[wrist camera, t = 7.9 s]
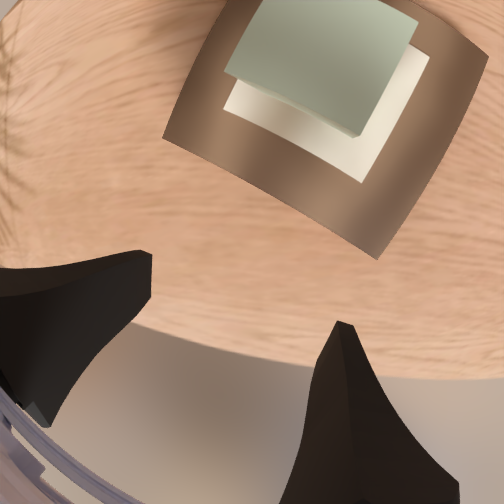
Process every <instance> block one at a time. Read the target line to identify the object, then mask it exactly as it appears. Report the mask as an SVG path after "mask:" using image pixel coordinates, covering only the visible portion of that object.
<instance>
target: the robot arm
mask: <svg viewBox="0 0 504 504" xmlns="http://www.w3.org/2000/svg"><path fill="white" fill-rule="evenodd" d="M151 275H152V254H150V253H147V252H145V251H142V250H133V251H127V252H123V253H118V254H113V255H109V256H105V257H100V258H96V259H92V260H87V261H82V262H77V263H72V264H67V265H60V266H53V267H44V268H23V269H12V268H0V504H74V503H72V502H71V501H70V500H68V499H67V498H66V497H64V496H63V495H62V494H61V493H59V492H58V491H57V490H56V489H54V488H53V487H52V486H51V485H50V484H48V483H47V482H46V481H45V480H44V479H43V478H42V477H40V475H41V474H42V473H43V472H44V471H45V467H44V466H43V465H42V464H41V463H40V462H39V461H38V460H37V459H36V458H35V457H34V456H33V455H32V454H31V453H30V452H29V451H28V450H27V449H26V448H25V447H24V446H23V445H22V444H21V443H20V442H19V441H18V440H17V439H16V438H15V437H14V436H13V434H12V433H11V428H12V427H11V424H12V425H13V427H14V428H15V429H16V430H17V431H18V432H19V433H20V434H21V435H22V436H23V437H24V438H25V439H26V440H27V441H28V442H29V443H30V444H31V445H32V446H33V447H34V448H35V449H36V450H37V451H38V452H39V453H40V454H41V455H42V456H43V457H44V458H46V459H47V460H48V461H49V462H50V463H51V464H52V465H53V466H55V467H56V468H57V469H58V470H59V471H60V472H62V473H63V474H64V475H65V476H67V477H68V478H69V479H70V480H72V481H73V482H74V483H76V484H77V485H78V486H80V487H81V488H82V489H84V490H85V491H86V492H88V493H89V494H91V495H92V496H94V497H95V498H97V499H98V500H100V501H101V502H102V503H104V504H144V503H142V502H140V501H139V500H137V499H135V498H133V497H131V496H130V495H128V494H126V493H125V492H123V491H121V490H120V489H118V488H116V487H115V486H113V485H111V484H110V483H108V482H107V481H105V480H104V479H102V478H101V477H99V476H98V475H96V474H95V473H93V472H92V471H91V470H89V469H88V468H86V467H85V466H83V465H82V464H81V463H80V462H78V461H77V460H76V459H74V458H73V457H72V456H71V455H69V454H68V453H67V452H66V451H64V450H63V449H62V448H61V447H60V446H58V445H57V444H56V443H55V442H54V441H53V440H52V439H50V438H49V437H48V436H47V435H46V434H45V433H44V432H43V431H42V430H41V429H40V428H38V427H37V426H36V425H35V424H34V423H33V422H32V421H31V420H30V419H29V418H28V417H27V416H26V415H25V414H24V413H23V412H22V411H21V409H20V408H18V406H17V405H16V403H17V404H18V405H19V406H20V407H21V408H22V409H23V410H25V411H26V412H27V413H28V414H29V415H30V416H31V417H32V418H33V419H34V420H35V421H36V422H37V423H38V424H39V425H40V426H41V427H44V428H49V427H51V425H52V423H53V421H54V419H55V417H56V415H57V413H58V411H59V409H60V407H61V405H62V403H63V402H64V400H65V399H66V397H67V395H68V394H69V392H70V390H71V388H72V387H73V386H74V384H75V383H76V381H77V380H78V378H79V377H80V376H81V374H82V373H83V371H84V370H85V369H86V367H87V366H88V365H89V364H90V362H91V361H92V360H93V359H94V357H95V356H96V355H97V353H99V352H100V351H101V349H102V348H103V347H104V346H105V345H107V344H108V343H109V342H110V341H111V340H112V339H113V338H114V337H115V336H116V335H117V334H118V333H119V332H120V331H121V330H122V329H123V328H124V327H125V326H126V325H127V324H128V323H129V322H130V321H131V320H133V319H134V318H135V317H136V316H137V314H138V313H139V312H140V311H141V310H142V308H143V307H144V306H145V304H146V303H147V302H148V300H149V299H150V298H151ZM279 504H460V493H459V483H458V481H457V480H455V479H454V478H453V477H452V476H451V475H450V474H449V473H448V472H447V471H445V470H444V469H443V468H442V467H441V466H440V465H439V464H438V463H437V462H436V461H435V460H434V459H433V458H432V457H431V456H430V455H429V454H428V453H427V451H426V450H425V449H424V448H423V447H422V446H421V445H420V443H419V442H418V441H417V440H416V439H415V437H414V436H413V435H412V434H411V432H410V431H409V430H408V428H407V427H406V426H405V424H404V423H403V421H402V420H401V419H400V417H399V416H398V414H397V413H396V411H395V409H394V408H393V406H392V405H391V403H390V402H389V400H388V398H387V396H386V395H385V393H384V391H383V389H382V387H381V385H380V383H379V381H378V380H377V378H376V376H375V373H374V371H373V369H372V367H371V365H370V363H369V361H368V359H367V356H366V354H365V352H364V349H363V347H362V345H361V342H360V340H359V338H358V335H357V333H356V331H355V328H354V326H353V325H350V324H347V323H344V322H341V321H337V322H336V324H335V326H334V328H333V330H332V332H331V334H330V336H329V338H328V340H327V342H326V344H325V346H324V348H323V350H322V352H321V354H320V355H319V357H318V359H317V362H316V365H315V369H314V373H313V377H312V381H311V386H310V391H309V398H308V405H307V411H306V418H305V424H304V429H303V435H302V439H301V444H300V448H299V451H298V454H297V457H296V460H295V463H294V466H293V469H292V472H291V475H290V477H289V480H288V483H287V485H286V488H285V491H284V493H283V495H282V498H281V500H280V503H279Z"/></svg>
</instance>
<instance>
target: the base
mask: <svg viewBox="0 0 504 504" xmlns="http://www.w3.org/2000/svg"><path fill="white" fill-rule="evenodd" d="M262 1H263V0H228V2H227V4H226V5H225V7H224V9H223V10H222V12H221V14H220V15H219V17H218V19H217V21H216V22H215V24H214V26H213V28H212V29H211V31H210V33H209V35H208V37H207V39H206V41H205V43H204V44H203V46H202V48H201V50H200V52H199V54H198V56H197V58H196V60H195V62H194V64H193V66H192V68H191V71H190V73H189V75H188V77H187V79H186V81H185V84H184V86H183V88H182V90H181V93H180V95H179V97H178V99H177V102H176V104H175V107H174V109H173V111H172V114H171V116H170V119H169V121H168V124H167V126H166V129H165V132H164V134H163V137H162V138H163V139H165V140H167V141H169V142H171V143H173V144H175V145H177V146H179V147H181V148H183V149H185V150H187V151H189V152H191V153H193V154H195V155H197V156H199V157H201V158H203V159H205V160H207V161H209V162H211V163H213V164H215V165H217V166H218V167H220V168H222V169H224V170H226V171H228V172H230V173H232V174H234V175H235V176H237V177H239V178H241V179H243V180H245V181H246V182H248V183H250V184H252V185H254V186H255V187H257V188H259V189H261V190H263V191H264V192H266V193H268V194H270V195H271V196H273V197H275V198H277V199H278V200H280V201H282V202H284V203H285V204H287V205H289V206H291V207H292V208H294V209H296V210H297V211H299V212H301V213H302V214H304V215H306V216H307V217H309V218H311V219H312V220H314V221H316V222H317V223H319V224H321V225H322V226H324V227H326V228H327V229H329V230H330V231H332V232H334V233H335V234H337V235H339V236H340V237H342V238H343V239H345V240H346V241H348V242H350V243H351V244H353V245H354V246H356V247H357V248H359V249H361V250H362V251H364V252H365V253H367V254H368V255H370V256H371V257H373V258H374V259H376V260H378V258H379V257H380V255H381V254H382V253H383V251H384V250H385V248H386V247H387V246H388V244H389V243H390V241H391V240H392V238H393V237H394V235H395V234H396V233H397V231H398V230H399V228H400V227H401V225H402V224H403V222H404V221H405V219H406V218H407V216H408V215H409V213H410V211H411V210H412V208H413V207H414V205H415V204H416V202H417V200H418V199H419V197H420V196H421V194H422V192H423V191H424V189H425V187H426V186H427V184H428V182H429V181H430V179H431V177H432V176H433V174H434V172H435V170H436V169H437V167H438V165H439V163H440V162H441V160H442V158H443V156H444V154H445V152H446V151H447V149H448V147H449V145H450V143H451V141H452V139H453V137H454V135H455V133H456V131H457V129H458V127H459V125H460V123H461V121H462V119H463V117H464V115H465V113H466V111H467V109H468V106H469V104H470V102H471V100H472V98H473V95H474V93H475V91H476V88H477V86H478V83H479V81H480V79H481V76H482V74H483V71H484V68H485V66H486V63H487V60H488V58H489V56H488V55H487V54H486V53H484V52H483V51H482V50H481V49H480V48H479V47H477V46H476V45H475V44H474V43H472V42H471V41H470V40H469V39H467V38H466V37H465V36H463V35H462V34H461V33H459V32H458V31H457V30H455V29H454V28H453V27H451V26H450V25H448V24H447V23H445V22H444V21H442V20H441V19H439V18H438V17H436V16H435V15H433V14H432V13H430V12H428V11H427V10H425V9H424V8H422V7H420V6H418V5H417V4H415V3H413V2H412V1H410V0H378V1H381V2H383V3H385V4H387V5H389V6H391V7H392V8H394V9H396V10H398V11H400V12H402V13H404V14H405V15H407V16H409V17H411V18H412V19H414V20H416V21H418V22H419V23H418V25H417V27H416V29H415V31H414V33H413V35H412V37H411V39H410V41H409V43H408V46H407V48H406V50H405V52H404V54H403V56H402V57H401V59H400V61H399V63H398V65H397V67H396V69H395V71H394V73H393V75H392V77H391V79H390V81H389V83H388V85H387V87H386V89H385V90H384V92H383V94H382V96H381V98H380V100H379V102H378V104H377V105H376V107H375V109H374V111H373V113H372V115H371V117H370V118H369V120H368V122H367V124H366V126H365V128H364V129H363V131H362V133H361V135H360V136H358V137H355V138H351V137H349V136H347V135H346V134H344V133H342V132H340V131H339V130H337V129H335V128H333V127H332V126H330V125H328V124H326V123H324V122H322V121H320V120H319V119H317V118H315V117H313V116H311V115H309V114H307V113H305V112H303V111H301V110H299V109H297V108H295V107H293V106H291V105H289V104H287V103H284V102H282V101H280V100H278V99H276V98H273V97H271V96H269V95H267V94H264V93H262V92H260V91H259V90H257V89H255V88H253V87H252V86H250V85H248V84H246V83H244V82H243V81H241V80H239V79H237V78H235V77H233V76H231V75H229V74H228V73H226V72H224V70H225V68H226V66H227V64H228V62H229V60H230V58H231V56H232V54H233V52H234V50H235V48H236V47H237V45H238V43H239V41H240V39H241V37H242V35H243V34H244V32H245V30H246V28H247V27H248V25H249V23H250V21H251V20H252V18H253V16H254V14H255V13H256V11H257V9H258V8H259V6H260V4H261V3H262Z"/></svg>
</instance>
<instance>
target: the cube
mask: <svg viewBox="0 0 504 504" xmlns="http://www.w3.org/2000/svg"><path fill="white" fill-rule="evenodd" d="M418 23H419V22H418V21H416V20H414V19H412V18H411V17H409V16H407V15H405V14H404V13H402V12H400V11H398V10H396V9H394V8H392V7H391V6H389V5H387V4H385V3H383V2H381V1H378V0H263V1H262V3H261V4H260V6H259V8H258V9H257V11H256V13H255V14H254V16H253V18H252V20H251V21H250V23H249V25H248V27H247V28H246V30H245V32H244V34H243V35H242V37H241V39H240V41H239V43H238V45H237V47H236V48H235V50H234V52H233V54H232V56H231V58H230V60H229V62H228V64H227V66H226V68H225V70H224V72H226V73H228V74H229V75H231V76H233V77H235V78H237V79H239V80H241V81H243V82H244V83H246V84H248V85H250V86H252V87H253V88H255V89H257V90H259V91H260V92H262V93H264V94H267V95H269V96H271V97H273V98H276V99H278V100H280V101H282V102H284V103H287V104H289V105H291V106H293V107H295V108H297V109H299V110H301V111H303V112H305V113H307V114H309V115H311V116H313V117H315V118H317V119H319V120H320V121H322V122H324V123H326V124H328V125H330V126H332V127H333V128H335V129H337V130H339V131H340V132H342V133H344V134H346V135H347V136H349V137H351V138H355V137H358V136H360V135H361V133H362V131H363V129H364V128H365V126H366V124H367V122H368V120H369V118H370V117H371V115H372V113H373V111H374V109H375V107H376V105H377V104H378V102H379V100H380V98H381V96H382V94H383V92H384V90H385V89H386V87H387V85H388V83H389V81H390V79H391V77H392V75H393V73H394V71H395V69H396V67H397V65H398V63H399V61H400V59H401V57H402V56H403V54H404V52H405V50H406V48H407V46H408V43H409V41H410V39H411V37H412V35H413V33H414V31H415V29H416V27H417V25H418Z"/></svg>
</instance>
